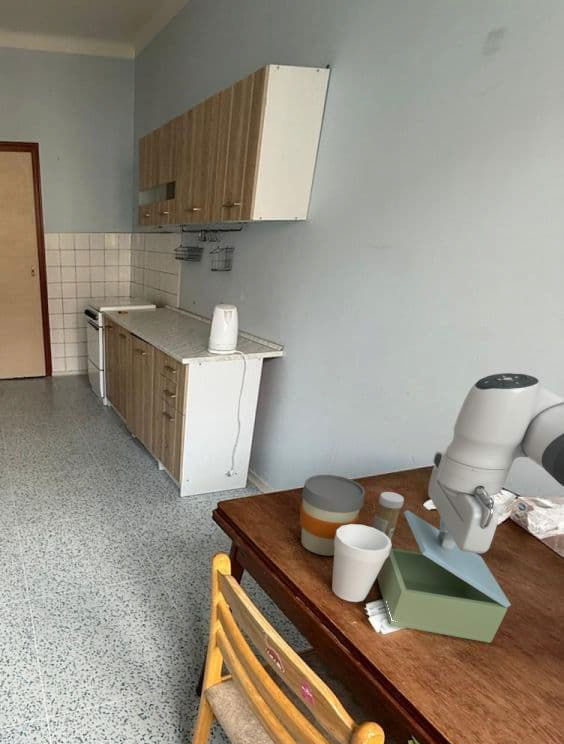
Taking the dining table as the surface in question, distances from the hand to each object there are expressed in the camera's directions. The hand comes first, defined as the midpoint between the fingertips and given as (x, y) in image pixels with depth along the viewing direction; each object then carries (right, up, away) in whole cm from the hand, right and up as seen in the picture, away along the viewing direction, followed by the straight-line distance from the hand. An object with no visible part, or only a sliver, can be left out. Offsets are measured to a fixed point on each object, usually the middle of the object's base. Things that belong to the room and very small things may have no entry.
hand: (444, 543), depth 83 cm
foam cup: (-11, -11, +11) cm, 19 cm away
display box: (+2, -13, +6) cm, 15 cm away
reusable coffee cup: (-11, -3, +26) cm, 28 cm away
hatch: (+2, -2, +1) cm, 3 cm away
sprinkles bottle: (+1, -4, +24) cm, 25 cm away
